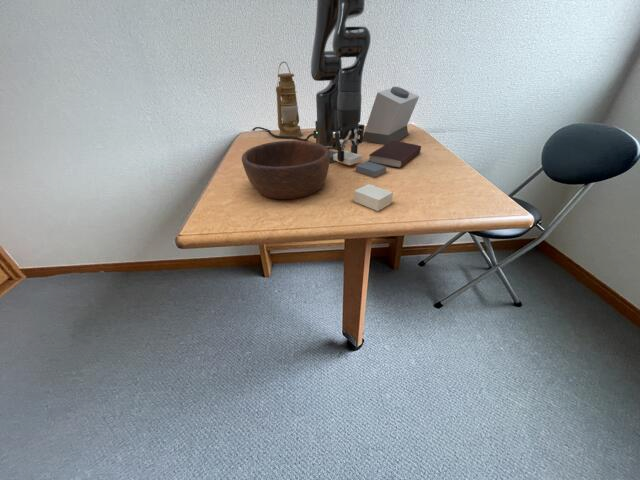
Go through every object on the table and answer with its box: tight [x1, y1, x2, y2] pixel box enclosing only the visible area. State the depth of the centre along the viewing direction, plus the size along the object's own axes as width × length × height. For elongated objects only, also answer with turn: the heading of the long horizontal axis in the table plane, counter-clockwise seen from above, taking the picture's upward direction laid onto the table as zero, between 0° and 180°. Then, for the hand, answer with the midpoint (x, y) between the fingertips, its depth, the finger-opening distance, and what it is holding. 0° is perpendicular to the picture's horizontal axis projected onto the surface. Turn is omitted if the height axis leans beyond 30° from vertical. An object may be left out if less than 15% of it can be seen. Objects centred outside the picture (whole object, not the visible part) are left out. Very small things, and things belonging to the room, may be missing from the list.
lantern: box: [275, 61, 302, 138], centre depth 125 cm, size 15×10×30 cm
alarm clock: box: [362, 86, 420, 145], centre depth 119 cm, size 20×16×20 cm
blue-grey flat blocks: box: [329, 149, 387, 178], centre depth 97 cm, size 28×6×2 cm, turn 43°
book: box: [368, 141, 422, 169], centre depth 101 cm, size 12×19×3 cm, turn 145°
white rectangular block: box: [353, 183, 394, 212], centre depth 73 cm, size 8×6×3 cm
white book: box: [333, 149, 363, 166], centre depth 96 cm, size 8×6×2 cm
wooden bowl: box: [241, 140, 331, 200], centre depth 81 cm, size 25×25×10 cm
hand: (347, 158), depth 97 cm, fingers closed on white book, 6 cm apart
